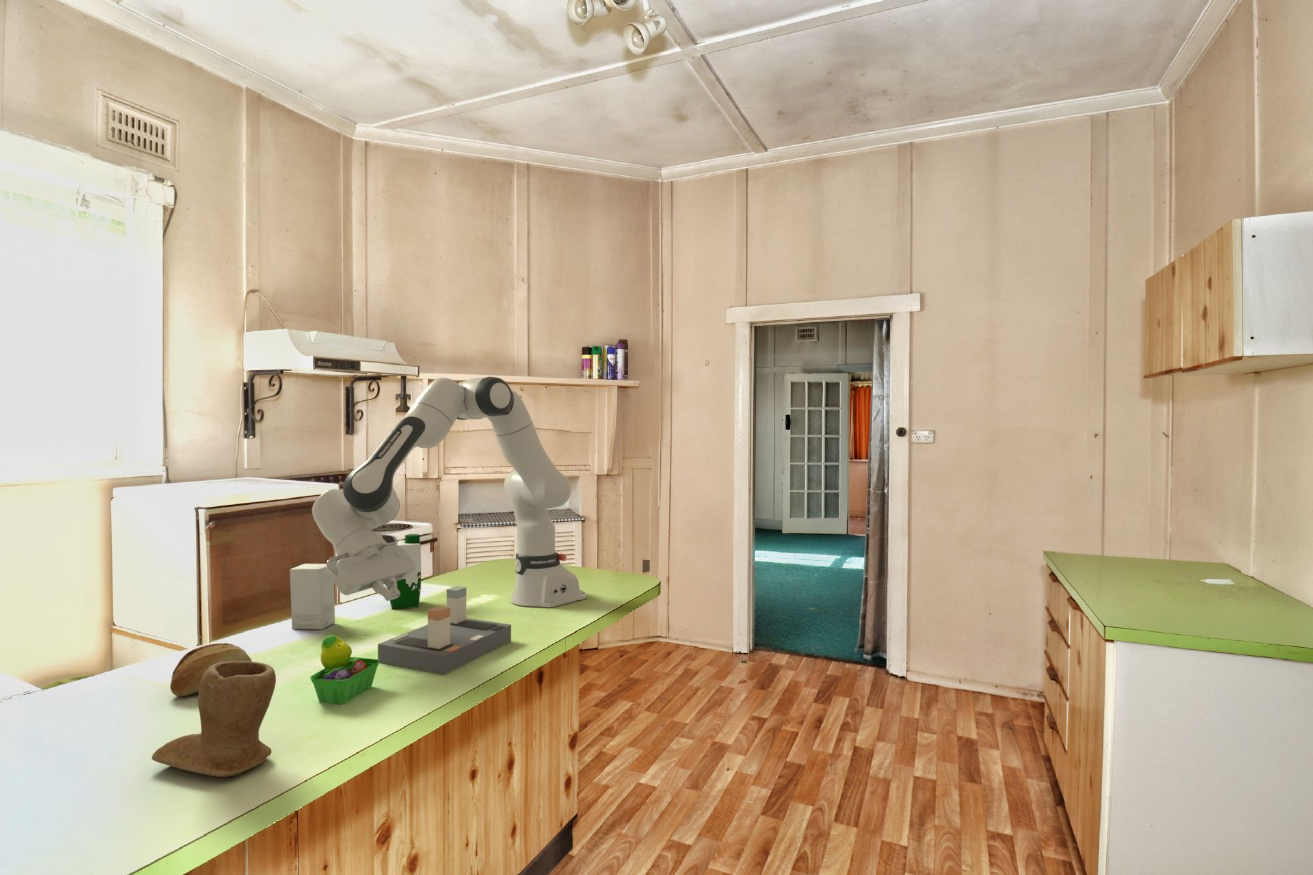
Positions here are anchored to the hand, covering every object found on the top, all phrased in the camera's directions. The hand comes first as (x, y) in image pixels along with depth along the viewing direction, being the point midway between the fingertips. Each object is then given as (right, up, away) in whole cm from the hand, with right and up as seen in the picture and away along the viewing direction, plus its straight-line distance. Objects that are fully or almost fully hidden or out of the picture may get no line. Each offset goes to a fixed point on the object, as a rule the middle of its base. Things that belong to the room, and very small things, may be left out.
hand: (394, 597), depth 150 cm
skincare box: (-29, -13, +22) cm, 39 cm away
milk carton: (-14, -12, +43) cm, 46 cm away
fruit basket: (-2, -14, -20) cm, 25 cm away
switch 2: (+10, -9, +13) cm, 19 cm away
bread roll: (-29, -14, -17) cm, 37 cm away
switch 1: (+12, -9, -5) cm, 15 cm away
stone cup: (-8, -14, -47) cm, 49 cm away
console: (+11, -13, +4) cm, 18 cm away
